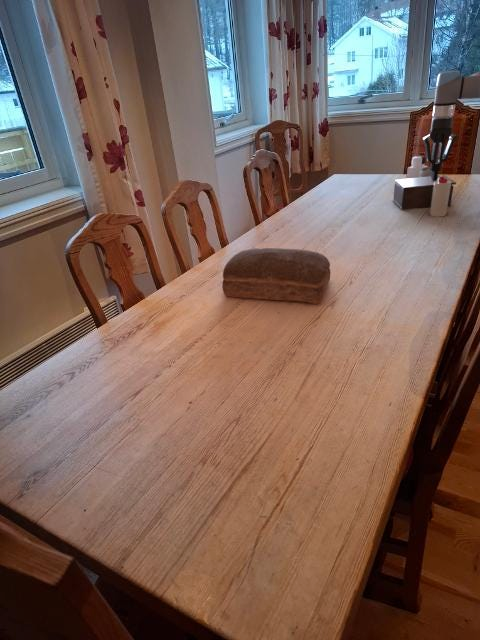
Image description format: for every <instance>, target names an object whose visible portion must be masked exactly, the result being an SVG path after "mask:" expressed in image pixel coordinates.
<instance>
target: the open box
mask: <svg viewBox="0 0 480 640" xmlns="http://www.w3.org/2000/svg"><path fill="white" fill-rule="evenodd" d="M453 192H454V185H451V187H450V194H449V200H448V206H447V208H448V207H451V206H452V205H451V204H452V199H453ZM432 194H433V187H424V188H414V189H403V188H401V187H400V186H399V185H398V184H397V183H396V182H395V181H394V189H393V199H392V201H393V202H394V204H395V205H396V206H397V207H398V208H399V209H400V210H401V211H405V210H419V209H420V210H421V209H430V208H431V201H432Z"/></svg>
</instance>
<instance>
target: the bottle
mask: <svg viewBox="0 0 480 640" xmlns="http://www.w3.org/2000/svg"><path fill="white" fill-rule="evenodd" d="M447 177H448V176H447ZM447 177H440V178H439V179H438V181H435V182H434V187H433V194H432V201H431V208H429V215H430V216H432V217H445V216H447V212H448V207H447V206H448V200H449V194H450V187H451V181H448V178H449V177H448V178H447Z"/></svg>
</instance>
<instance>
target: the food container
mask: <svg viewBox="0 0 480 640" xmlns="http://www.w3.org/2000/svg"><path fill="white" fill-rule="evenodd" d="M430 167H431V166H428V167H425V168H422V169H421V171H420V175H421V177H429V176H432V172H431V171H430Z"/></svg>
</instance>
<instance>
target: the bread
mask: <svg viewBox="0 0 480 640" xmlns="http://www.w3.org/2000/svg"><path fill="white" fill-rule="evenodd" d="M330 267H331V262H330V260H329V259H328V257H326V255H324V254H322V253H320V252H317V251H311V250H305V249H299V248H282V247H281V248H280V247H263V248H256V247H255V248H250V249H245V250H241V251H238V253H236V254H234V255H233V256H232V257H231V258H230V259H229V260H228V261H227V263H226V264H225V265H224V268H223V271H222V279H223V280H222V292H223V294H224V296H226V297H233V298H241V299H242V298H243V299H255V300H256V299H258V300H270V301H289V302H305V303H309V304H320V303H321V301H322V300H323V297H324V294H325V292H326V288H327V286H328V284H329V282H330V279H331V268H330Z"/></svg>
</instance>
